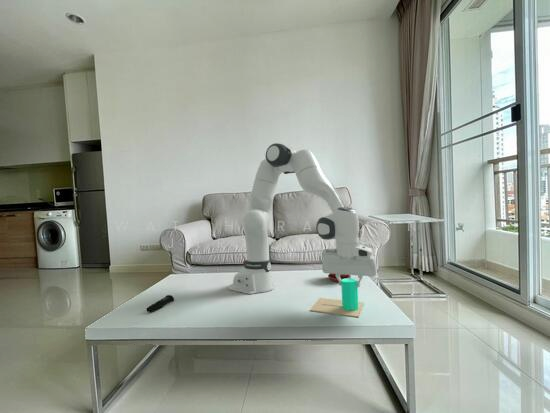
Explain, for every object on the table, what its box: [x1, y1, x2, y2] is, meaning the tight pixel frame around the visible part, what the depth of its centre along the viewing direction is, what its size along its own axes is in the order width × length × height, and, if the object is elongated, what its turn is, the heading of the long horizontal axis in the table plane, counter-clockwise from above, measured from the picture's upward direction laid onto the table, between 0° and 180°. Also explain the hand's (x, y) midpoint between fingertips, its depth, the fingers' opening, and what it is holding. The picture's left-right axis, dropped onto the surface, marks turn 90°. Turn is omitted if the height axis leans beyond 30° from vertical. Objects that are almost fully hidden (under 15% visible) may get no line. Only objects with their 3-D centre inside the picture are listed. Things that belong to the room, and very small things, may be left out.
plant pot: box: [327, 273, 352, 282], centre depth 147 cm, size 13×13×12 cm
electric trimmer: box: [146, 294, 175, 313], centre depth 119 cm, size 4×16×3 cm, turn 166°
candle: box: [341, 277, 359, 310], centre depth 107 cm, size 6×6×12 cm
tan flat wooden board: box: [309, 297, 365, 318], centre depth 110 cm, size 18×14×1 cm
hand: (349, 285), depth 107 cm, fingers closed on candle, 5 cm apart
